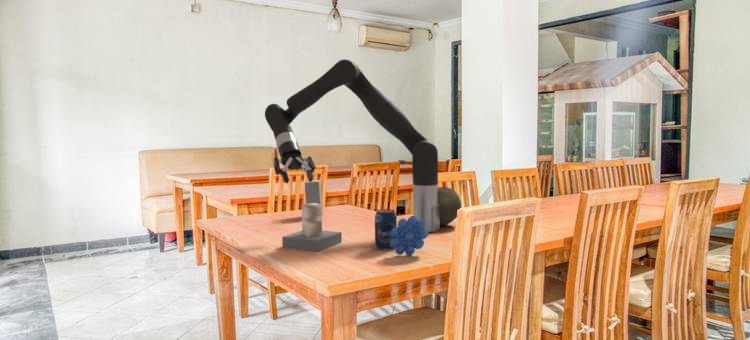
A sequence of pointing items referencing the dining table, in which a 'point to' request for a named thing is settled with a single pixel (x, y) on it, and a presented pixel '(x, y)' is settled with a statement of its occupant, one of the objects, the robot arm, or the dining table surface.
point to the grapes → (408, 235)
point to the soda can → (384, 228)
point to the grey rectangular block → (313, 192)
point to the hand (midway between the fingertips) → (299, 181)
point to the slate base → (312, 241)
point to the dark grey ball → (448, 205)
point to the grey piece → (312, 219)
